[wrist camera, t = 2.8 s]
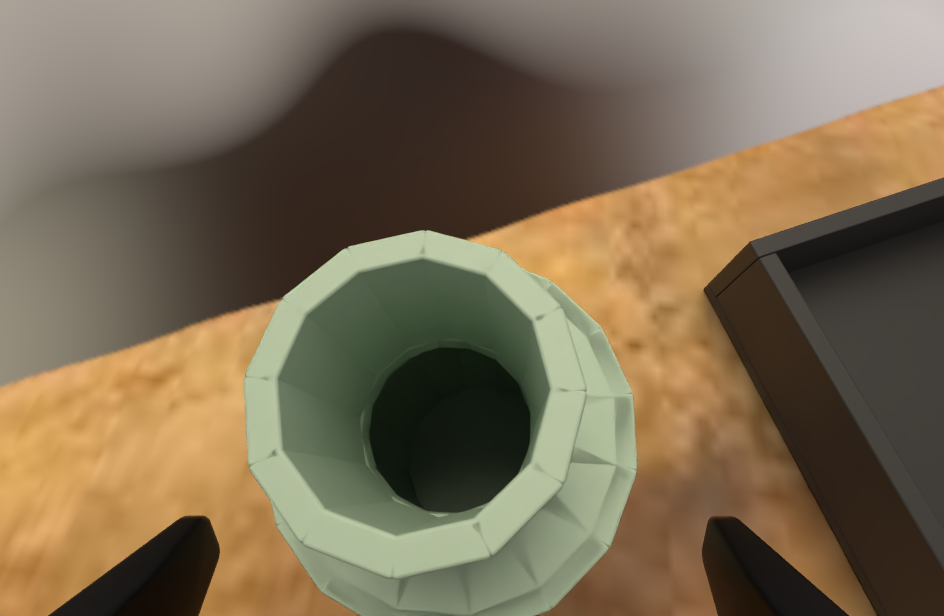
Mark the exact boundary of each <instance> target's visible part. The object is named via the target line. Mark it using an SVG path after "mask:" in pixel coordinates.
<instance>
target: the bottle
mask: <svg viewBox="0 0 944 616" xmlns="http://www.w3.org/2000/svg"><path fill="white" fill-rule="evenodd" d="M245 377H246V378H245V379H244V397H245V417H246V437H247V457H248V465H249V466H250V471H251V473H252V474H253V476H254V477H255V479H256V480H257V482H258V483H259V485H260V486H261V487H262V489H263V490H264V492H265V493H266V495H267V496H268V498H269V499H270V501H271V502H272V507H273V513H274V518H275V523H276V525H278V526H277V528H278V530H279V531H280V533H281V534H282V536H283V537H284V539H285V540H286V542H287V543H288V545H289V546H290V548H291V549H292V551H293V552H294V554H295V555H296V556H297V558H298V559H299V561H300V562H301V564H302V565H303V567H304V568H305V570H306V571H307V573H308V574H309V576H310V577H311V579H312V580H313V582H314V583H315V585H316V586H317V587H318V589H319V590H322V593H323V594H325V595H326V596H328V597H330V598H331V599H333V600H335V601H336V602H338V603H340V604H341V605H343V606H345V607H346V608H348V609H350V610H351V611H353V612H355V613H357V614H358V615H360V616H537V615H540V614H542V613H545V612H547V611H549V610H550V609H551V608H554V607H555V606H556V605H557V604H558V603H559V602H560V601H561V600H562V599H563V598H564V597H565V595H566V594H567V593H568V592H569V591H570V590H571V589H572V588H573V587H574V586H575V585H576V584H577V583H578V582H579V581H580V580H581V579H582V577H583V576H584V575H585V574H586V573H587V572H588V571H589V570H590V569H591V568H592V567H593V566H594V565H595V564H596V563H597V562H598V561H599V559H600V558H601V557H602V556H603V555H604V554H605V553H606V552H607V551H608V549H609V547H610V546H611V544H612V541H613V539H614V536H615V533H616V530H617V527H618V525H619V522H620V519H621V516H622V513H623V511H624V508H625V505H626V502H627V499H628V496H629V494H630V491H631V488H632V485H633V482H634V480H635V477H636V470H637V452H636V434H635V416H634V398H633V394H632V390H631V388H630V386H629V384H628V381H627V379H626V377H625V375H624V373H623V371H622V369H621V367H620V365H619V362H618V360H617V358H616V356H615V354H614V352H613V350H612V348H611V345H610V343H609V341H608V339H607V337H606V335H605V333H604V331H603V329H601V327H600V325H599V324H598V323H597V322H596V321H594V320H593V319H592V318H591V317H590V316H589V315H588V314H587V313H586V312H585V311H584V310H583V309H582V308H581V307H580V306H578V305H577V304H576V303H575V302H574V301H573V300H572V299H571V298H570V297H569V296H568V295H567V294H566V293H565V292H563V291H562V290H561V289H560V288H559V287H558V286H557V285H556V284H555V283H554V282H551V281H550V280H549V279H546V278H544V277H541V276H539V275H536V274H534V273H532V272H529V271H527V270H524V269H523V268H522V267H520V266H519V265H518V264H517V263H516V262H515V261H514V260H513V259H512V258H511V257H510V256H509V255H508V254H507V253H505V252H502V251H501V250H500V249H497V248H494V247H490V246H486V245H482V244H478V243H474V242H471V241H467V240H463V239H459V238H455V237H451V236H448V235H444V234H440V233H436V232H432V231H426V232H425V231H422V230H421V231H417V232H413V233H408V234H403V235H399V236H394V237H390V238H386V239H381V240H376V241H372V242H367V243H363V244H358V245H354V246H350V247H348V249H344V250H342V251H341V252H340V253H338V254H337V255H336V256H334V257H333V258H332V259H331V260H329V262H327V263H326V264H324V265H323V266H322V267H321V268H319V269H318V270H317V271H316V272H314V273H313V274H312V275H310V276H309V277H308V278H307V279H305V280H304V281H303V282H302V283H300V284H299V285H298V286H297V287H295V288H294V289H293V290H292V291H290V292H289V293H288V294H286V295H285V296H284V297H283V301H280V302H279V304H278V306H277V308H276V310H275V312H274V314H273V317H272V319H271V321H270V323H269V325H268V327H267V329H266V331H265V333H264V336H263V338H262V340H261V342H260V344H259V346H258V348H257V350H256V352H255V354H254V357H253V359H252V361H251V363H250V365H249V367H248V369H247V371H246V373H245Z"/></svg>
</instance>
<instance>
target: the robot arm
mask: <svg viewBox="0 0 944 616" xmlns="http://www.w3.org/2000/svg"><path fill="white" fill-rule="evenodd" d="M219 554H220V548H219V543H218V541H217V538H216V535H215V533H214V530H213V527H212V525H211V522H210V520H209V519H208V518H207V517H206V516H184V517H182V518H180V519H178V520H177V521H176V522H174V523H173V524H172V525H170V526H169V527H167V528H166V529H165V530H163V531H162V532H161V533H159V534H158V535H157V536H155V537H154V538H153V539H151V540H150V541H149V542H147V543H146V544H144V545H143V546H142V547H140V548H139V549H138V550H136V551H135V552H134V553H132V554H131V555H130V556H128V557H127V558H126V559H124V560H123V561H122V562H120V563H119V564H117V565H116V566H115V567H113V568H112V569H111V570H109V571H108V572H107V573H105V574H104V575H103V576H101V577H100V578H99V579H97V580H96V581H94V582H93V583H92V584H90V585H89V586H88V587H86V588H85V589H84V590H82V591H81V592H80V593H78V594H77V595H76V596H74V597H73V598H71V599H70V600H69V601H67V602H66V603H65V604H63V605H62V606H61V607H59V608H58V609H57V610H55V611H54V612H53V613H51V614H50V615H48V616H198V615H199V613H200V610H201V607H202V604H203V601H204V599H205V596H206V593H207V590H208V588H209V585H210V582H211V579H212V576H213V574H214V571H215V568H216V565H217V562H218V559H219ZM702 558H703V563H704V567H705V571H706V574H707V578H708V581H709V585H710V588H711V592H712V596H713V599H714V603H715V606H716V610H717V613H718V616H849V615H848V614H846V613H845V612H844V611H843V610H842V609H841V608H840V607H838V606H837V605H836V604H835V603H834V602H833V601H832V600H830V599H829V598H828V597H827V596H826V595H825V594H824V593H822V592H821V591H820V590H819V589H818V588H817V587H816V586H814V585H813V584H812V583H811V582H810V581H809V580H808V579H806V578H805V577H804V576H803V575H802V574H801V573H799V572H798V571H797V570H796V569H795V568H794V567H793V566H791V565H790V564H789V563H788V562H787V561H786V560H785V559H783V558H782V557H781V556H780V555H779V554H778V553H777V552H775V551H774V550H773V549H772V548H771V547H770V546H769V545H767V544H766V543H765V542H764V541H763V540H762V539H761V538H759V537H758V536H757V535H756V534H755V533H754V532H753V531H751V530H750V529H749V528H748V527H747V526H746V525H745V524H743V523H742V522H741V521H740V520H739V519H737V518H735V517H731V516H713V517H711V518H710V519H709V521H708V524H707V528H706V533H705V538H704V542H703V547H702Z"/></svg>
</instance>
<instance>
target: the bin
mask: <svg viewBox="0 0 944 616" xmlns="http://www.w3.org/2000/svg"><path fill="white" fill-rule="evenodd" d="M704 290H705V292H706V294H707V295H708V297H709V299H710V301H711V303H712V305H713V307H714V309H715V310H716V312H717V314H718V316H719V318H720V320H721V322H722V324H723V325H724V327H725V329H726V331H727V333H728V335H729V337H730V339H731V340H732V342H733V344H734V346H735V348H736V350H737V352H738V354H739V355H740V357H741V359H742V361H743V363H744V365H745V367H746V369H747V370H748V372H749V374H750V376H751V378H752V380H753V382H754V383H755V385H756V387H757V389H758V391H759V393H760V395H761V397H762V398H763V400H764V402H765V404H766V406H767V408H768V410H769V412H770V413H771V415H772V417H773V419H774V421H775V423H776V425H777V427H778V428H779V430H780V432H781V434H782V436H783V438H784V440H785V442H786V443H787V445H788V447H789V449H790V451H791V453H792V455H793V457H794V458H795V460H796V462H797V464H798V466H799V468H800V470H801V472H802V473H803V475H804V477H805V479H806V481H807V483H808V485H809V486H810V488H811V490H812V492H813V494H814V496H815V498H816V500H817V501H818V503H819V505H820V507H821V509H822V511H823V513H824V515H825V516H826V518H827V520H828V522H829V524H830V526H831V528H832V530H833V531H834V533H835V535H836V537H837V539H838V541H839V543H840V545H841V546H842V548H843V550H844V552H845V554H846V556H847V558H848V560H849V561H850V563H851V565H852V567H853V569H854V571H855V573H856V575H857V576H858V578H859V580H860V582H861V584H862V586H863V588H864V589H865V591H866V593H867V595H868V597H869V599H870V601H871V603H872V604H873V606H874V608H875V610H876V612H877V614H878V616H944V178H941V179H938V180H935V181H932V182H929V183H926V184H923V185H920V186H917V187H914V188H911V189H908V190H905V191H902V192H899V193H896V194H893V195H890V196H887V197H884V198H881V199H877V200H874V201H871V202H868V203H865V204H862V205H859V206H856V207H853V208H850V209H847V210H844V211H841V212H838V213H835V214H832V215H829V216H826V217H823V218H820V219H817V220H814V221H811V222H808V223H805V224H802V225H799V226H796V227H793V228H790V229H787V230H784V231H781V232H778V233H775V234H772V235H769V236H766V237H763V238H760V239H757V240H754V241H751V242H749V243H748V244H747V245H746V246H745V247H744V248H743V249H742V250H741V251H740V252H739V253H738V254H737V255H736V256H735V257H734V258H733V259H732V260H731V261H730V263H729V264H728V265H727V266H726V267H725V268H724V269H723V270H722V271H721V272H720V273H719V274H718V275H717V276H716V277H715V278H714V279H713V280H712V281H711V282H710V283H709V284H708V285H707V286H706V287H705V288H704Z"/></svg>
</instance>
